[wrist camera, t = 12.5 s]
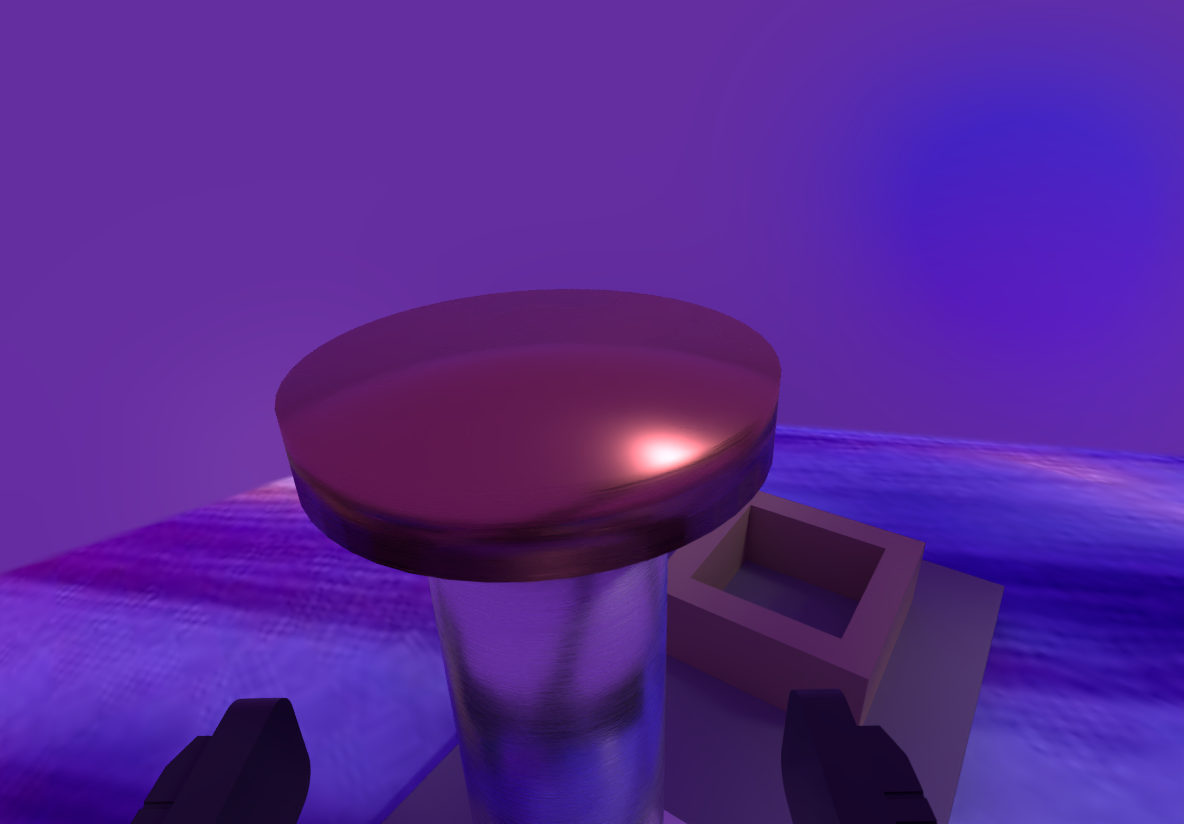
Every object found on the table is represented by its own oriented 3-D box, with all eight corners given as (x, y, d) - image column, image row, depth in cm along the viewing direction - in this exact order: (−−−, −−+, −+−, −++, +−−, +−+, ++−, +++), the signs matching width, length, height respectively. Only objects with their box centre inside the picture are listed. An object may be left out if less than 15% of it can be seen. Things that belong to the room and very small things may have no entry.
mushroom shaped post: (556, 778, 22) (510, 272, 14) (768, 915, 18) (849, 326, 11) (378, 1003, 16) (168, 393, 9) (623, 1258, 13) (590, 576, 6)
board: (703, 512, 37) (706, 439, 35) (996, 613, 29) (1022, 528, 27) (178, 1082, 17) (113, 988, 15) (696, 1856, 9) (711, 1884, 7)
